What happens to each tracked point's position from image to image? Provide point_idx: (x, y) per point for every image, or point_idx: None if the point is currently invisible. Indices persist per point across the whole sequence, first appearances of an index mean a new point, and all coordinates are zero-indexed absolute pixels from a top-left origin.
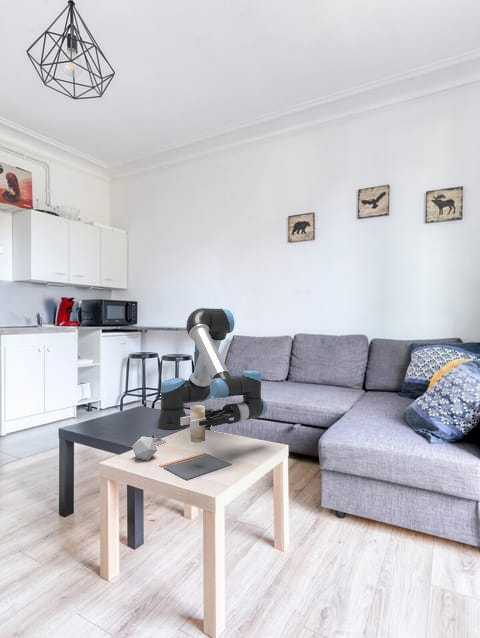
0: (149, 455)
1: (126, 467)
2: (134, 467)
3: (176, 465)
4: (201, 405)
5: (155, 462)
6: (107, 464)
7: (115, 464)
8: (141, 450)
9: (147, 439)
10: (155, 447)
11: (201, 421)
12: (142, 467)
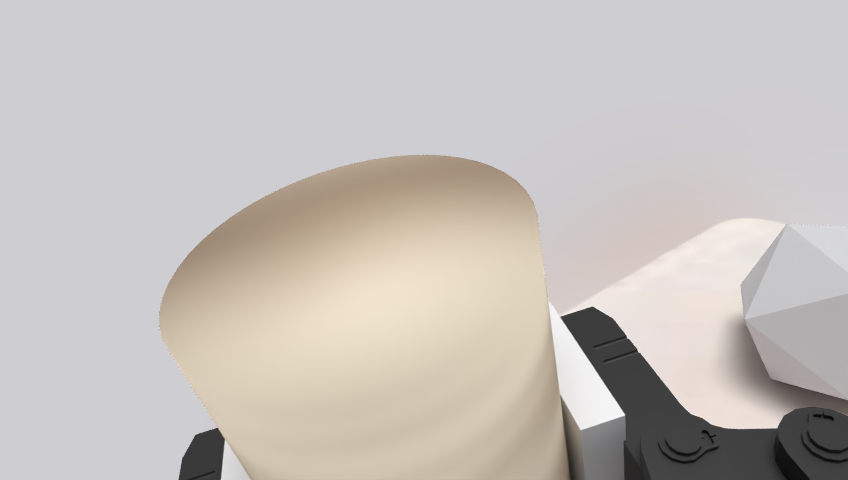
0: (769, 360)
1: (659, 285)
2: (649, 314)
3: None
4: (429, 332)
5: (721, 419)
6: (725, 223)
7: (719, 247)
8: (748, 285)
9: (826, 262)
10: (841, 367)
11: (210, 451)
12: (637, 346)
